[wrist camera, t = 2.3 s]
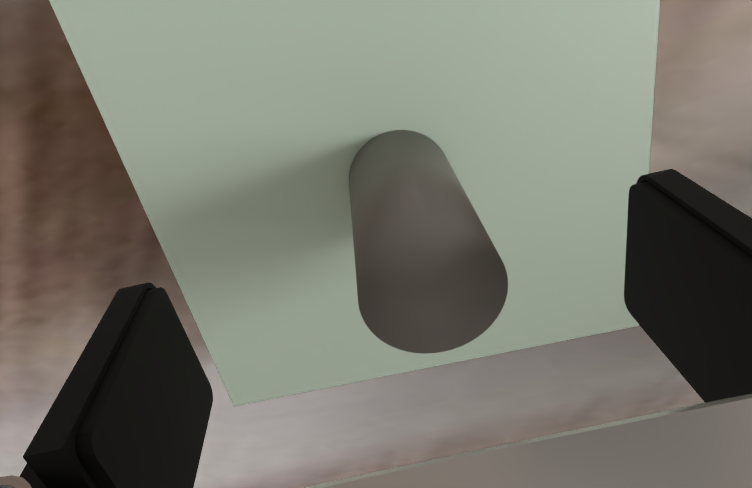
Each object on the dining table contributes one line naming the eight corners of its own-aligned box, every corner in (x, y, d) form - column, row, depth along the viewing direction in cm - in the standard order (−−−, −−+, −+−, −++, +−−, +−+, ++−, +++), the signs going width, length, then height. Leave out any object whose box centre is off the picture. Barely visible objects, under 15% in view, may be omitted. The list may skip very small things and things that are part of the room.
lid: (654, -189, 13) (937, -303, 7) (628, 312, 20) (752, 467, 14) (42, -50, 13) (-193, -44, 7) (237, 390, 20) (199, 572, 15)
